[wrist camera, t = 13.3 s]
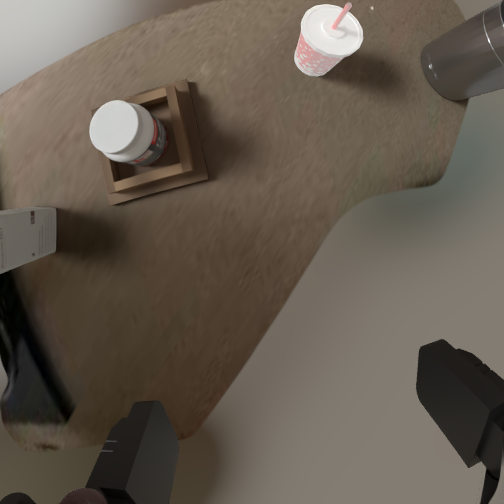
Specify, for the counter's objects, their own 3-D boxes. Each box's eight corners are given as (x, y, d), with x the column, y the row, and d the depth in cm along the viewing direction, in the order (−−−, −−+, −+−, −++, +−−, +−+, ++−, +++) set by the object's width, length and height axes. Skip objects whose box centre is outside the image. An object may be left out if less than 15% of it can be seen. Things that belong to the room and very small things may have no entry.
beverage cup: (306, 90, 34) (342, 43, 20) (278, 50, 32) (297, -12, 19) (347, 70, 33) (396, 23, 19) (319, 32, 32) (354, -28, 18)
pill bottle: (179, 149, 33) (156, 135, 24) (136, 176, 34) (100, 173, 24) (155, 108, 32) (127, 82, 23) (114, 135, 33) (74, 120, 23)
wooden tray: (188, 81, 33) (183, 72, 29) (209, 179, 35) (206, 178, 32) (94, 112, 33) (82, 106, 29) (112, 205, 35) (101, 207, 32)
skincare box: (57, 252, 36) (2, 277, 24) (32, 249, 36) (-25, 272, 24) (57, 204, 35) (-2, 216, 23) (31, 204, 35) (-29, 214, 23)
